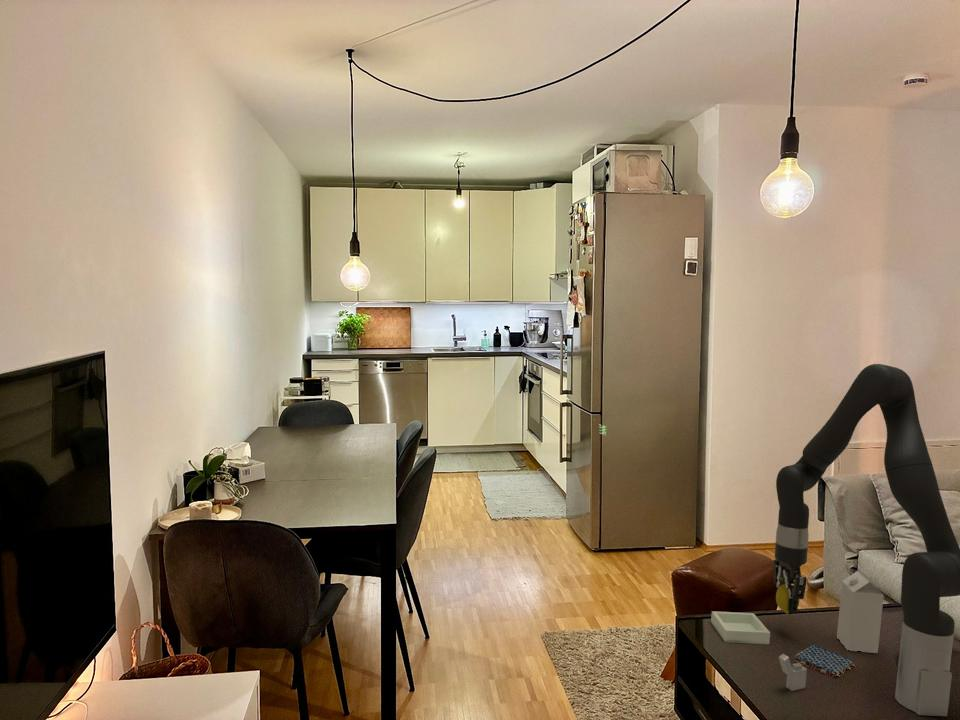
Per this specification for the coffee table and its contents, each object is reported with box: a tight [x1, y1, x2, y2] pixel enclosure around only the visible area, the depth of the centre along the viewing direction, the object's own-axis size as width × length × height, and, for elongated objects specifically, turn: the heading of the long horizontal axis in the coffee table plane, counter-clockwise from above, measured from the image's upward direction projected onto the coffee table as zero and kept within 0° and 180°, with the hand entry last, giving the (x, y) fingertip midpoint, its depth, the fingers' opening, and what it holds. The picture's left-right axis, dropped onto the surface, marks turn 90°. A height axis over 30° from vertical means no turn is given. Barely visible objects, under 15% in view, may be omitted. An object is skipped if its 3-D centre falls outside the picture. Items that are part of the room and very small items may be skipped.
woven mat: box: [794, 644, 856, 677], centre depth 172 cm, size 10×11×2 cm
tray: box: [710, 610, 771, 645], centre depth 185 cm, size 11×11×3 cm
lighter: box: [778, 653, 808, 692], centre depth 159 cm, size 7×2×8 cm, turn 113°
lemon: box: [775, 584, 801, 615], centre depth 185 cm, size 6×6×8 cm
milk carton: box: [836, 566, 885, 654], centre depth 181 cm, size 7×7×19 cm
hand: (786, 607), depth 185 cm, fingers closed on lemon, 5 cm apart
